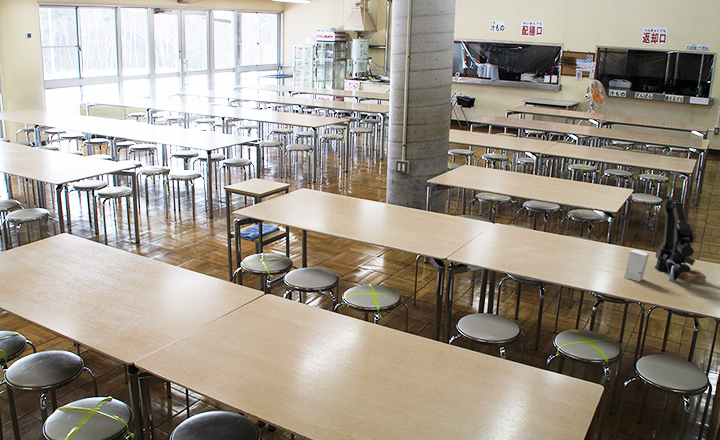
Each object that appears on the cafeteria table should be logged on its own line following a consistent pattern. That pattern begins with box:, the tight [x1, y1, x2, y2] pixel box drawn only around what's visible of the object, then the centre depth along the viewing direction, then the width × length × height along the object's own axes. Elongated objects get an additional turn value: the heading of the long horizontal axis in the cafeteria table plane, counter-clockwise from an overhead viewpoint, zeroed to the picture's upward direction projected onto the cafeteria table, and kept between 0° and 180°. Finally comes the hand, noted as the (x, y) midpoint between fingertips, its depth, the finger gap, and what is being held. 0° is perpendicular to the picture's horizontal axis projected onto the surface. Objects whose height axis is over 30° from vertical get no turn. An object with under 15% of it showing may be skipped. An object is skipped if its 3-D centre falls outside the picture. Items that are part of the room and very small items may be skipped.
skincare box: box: [623, 249, 650, 282], centre depth 308 cm, size 8×6×15 cm
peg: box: [668, 266, 677, 283], centre depth 309 cm, size 3×3×8 cm
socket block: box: [679, 268, 707, 284], centre depth 313 cm, size 9×9×4 cm
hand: (672, 278), depth 310 cm, fingers open, 5 cm apart
